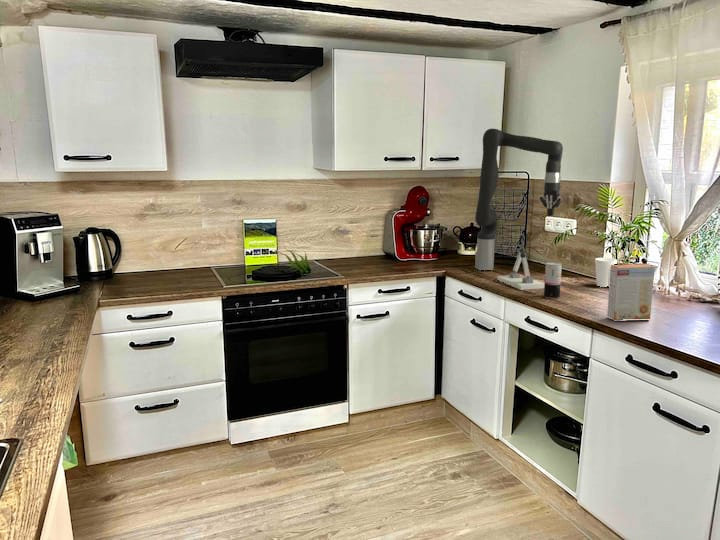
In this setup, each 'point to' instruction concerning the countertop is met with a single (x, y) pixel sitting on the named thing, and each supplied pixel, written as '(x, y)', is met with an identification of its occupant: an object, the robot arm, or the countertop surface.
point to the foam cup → (603, 270)
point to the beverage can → (552, 280)
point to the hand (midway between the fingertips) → (550, 215)
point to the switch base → (521, 281)
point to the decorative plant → (299, 266)
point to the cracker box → (630, 291)
